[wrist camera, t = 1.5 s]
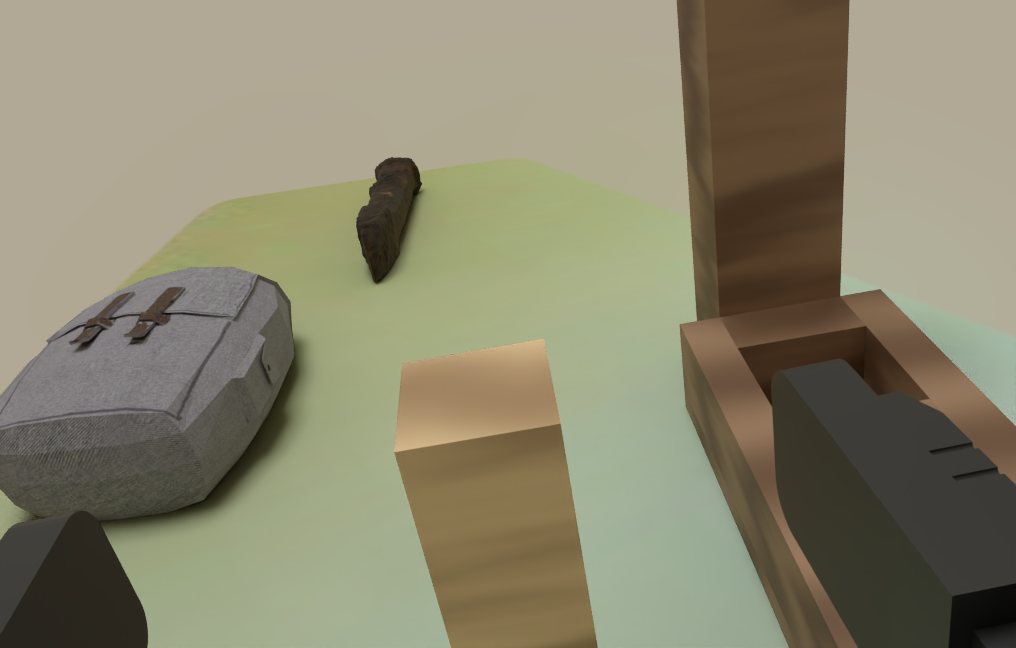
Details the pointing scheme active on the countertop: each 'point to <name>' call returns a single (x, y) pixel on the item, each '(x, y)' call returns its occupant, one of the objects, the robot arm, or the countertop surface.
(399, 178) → the hand tool
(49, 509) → the small grey backpack
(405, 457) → the rail bar
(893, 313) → the wooden peg socket stand
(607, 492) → the countertop surface
